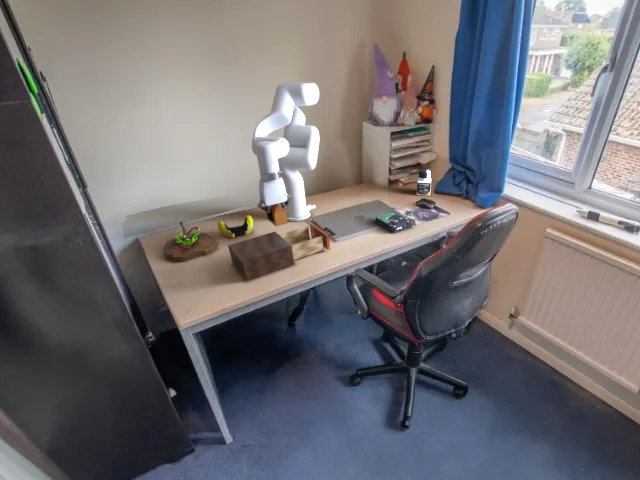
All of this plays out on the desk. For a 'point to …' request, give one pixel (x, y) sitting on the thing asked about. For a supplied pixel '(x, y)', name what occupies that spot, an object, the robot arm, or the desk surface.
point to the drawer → (308, 240)
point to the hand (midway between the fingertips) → (277, 218)
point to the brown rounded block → (278, 215)
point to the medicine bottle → (424, 182)
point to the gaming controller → (236, 228)
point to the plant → (189, 245)
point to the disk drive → (393, 222)
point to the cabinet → (261, 255)
